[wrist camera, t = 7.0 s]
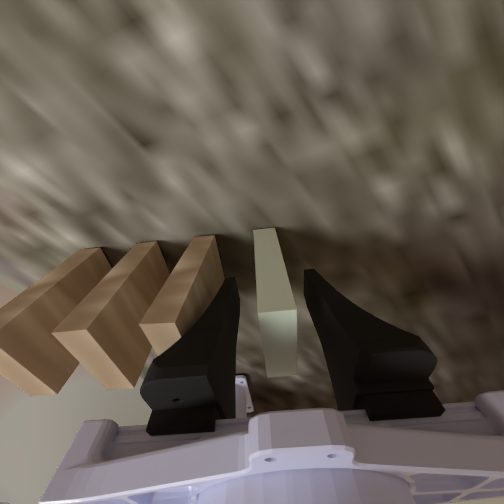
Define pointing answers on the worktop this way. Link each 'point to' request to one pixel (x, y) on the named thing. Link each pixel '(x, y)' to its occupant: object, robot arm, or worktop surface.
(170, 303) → the domino
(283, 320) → the domino
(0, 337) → the domino
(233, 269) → the worktop surface
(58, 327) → the domino
